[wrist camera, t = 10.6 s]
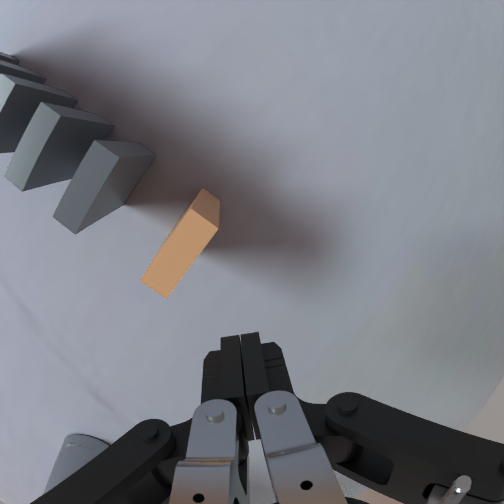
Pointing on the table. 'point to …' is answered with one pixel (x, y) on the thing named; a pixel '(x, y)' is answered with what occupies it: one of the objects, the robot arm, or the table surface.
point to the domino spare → (183, 244)
